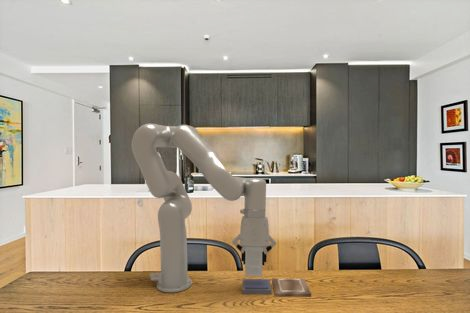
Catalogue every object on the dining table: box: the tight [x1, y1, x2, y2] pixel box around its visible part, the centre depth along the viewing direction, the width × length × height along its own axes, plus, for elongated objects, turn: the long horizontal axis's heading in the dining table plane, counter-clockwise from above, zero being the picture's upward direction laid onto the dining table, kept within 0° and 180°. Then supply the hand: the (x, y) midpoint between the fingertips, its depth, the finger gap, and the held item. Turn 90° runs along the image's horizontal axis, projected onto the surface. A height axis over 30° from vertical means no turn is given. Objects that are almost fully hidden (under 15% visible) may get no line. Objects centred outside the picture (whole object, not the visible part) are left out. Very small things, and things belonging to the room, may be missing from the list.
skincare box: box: [244, 247, 263, 277], centre depth 111 cm, size 6×4×12 cm
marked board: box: [271, 278, 312, 298], centre depth 110 cm, size 12×12×1 cm
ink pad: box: [241, 278, 273, 295], centre depth 111 cm, size 10×9×2 cm
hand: (253, 263), depth 111 cm, fingers closed on skincare box, 6 cm apart
